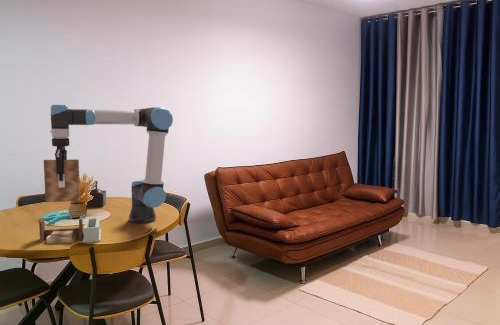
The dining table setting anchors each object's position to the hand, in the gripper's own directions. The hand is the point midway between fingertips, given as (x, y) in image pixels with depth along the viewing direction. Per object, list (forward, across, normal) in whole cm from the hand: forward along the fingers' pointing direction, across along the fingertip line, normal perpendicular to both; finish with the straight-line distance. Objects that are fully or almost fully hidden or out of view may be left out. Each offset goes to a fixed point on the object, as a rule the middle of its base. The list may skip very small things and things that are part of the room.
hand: (62, 186), depth 191 cm
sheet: (+7, 0, 0) cm, 7 cm away
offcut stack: (+26, +4, 0) cm, 26 cm away
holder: (+25, -1, +12) cm, 28 cm away
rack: (+25, 0, -1) cm, 25 cm away
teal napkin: (+26, -40, -11) cm, 49 cm away
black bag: (+26, -69, +3) cm, 74 cm away
